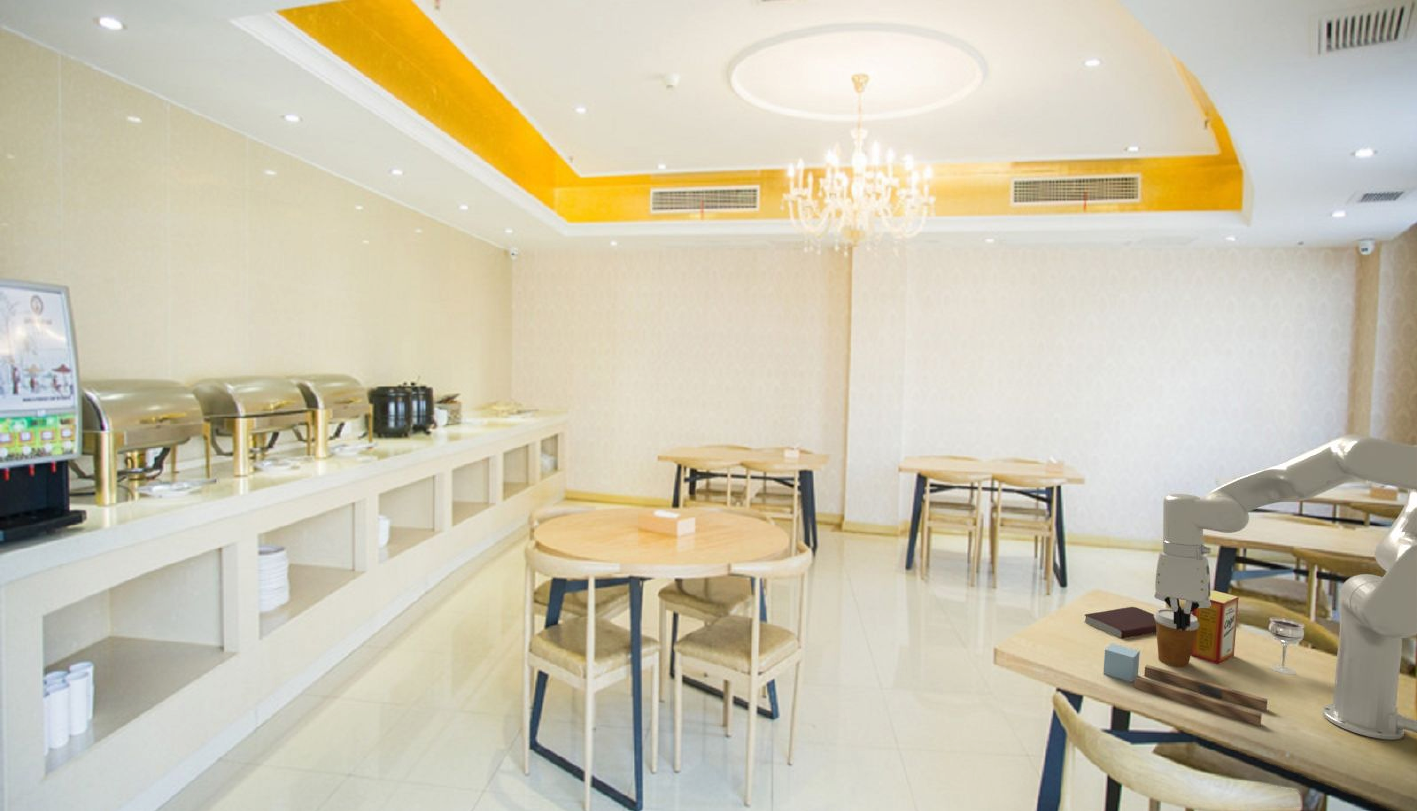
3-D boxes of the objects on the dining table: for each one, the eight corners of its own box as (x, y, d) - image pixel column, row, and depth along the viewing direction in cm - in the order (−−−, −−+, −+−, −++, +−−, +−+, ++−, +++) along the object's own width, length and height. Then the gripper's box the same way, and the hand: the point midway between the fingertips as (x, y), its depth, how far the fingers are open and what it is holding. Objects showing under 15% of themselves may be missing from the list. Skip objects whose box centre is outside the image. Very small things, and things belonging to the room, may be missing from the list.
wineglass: (1302, 678, 169) (1307, 630, 168) (1267, 671, 172) (1271, 623, 171) (1298, 668, 174) (1302, 621, 174) (1263, 661, 178) (1267, 615, 177)
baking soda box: (1204, 646, 186) (1209, 587, 185) (1233, 655, 181) (1238, 595, 180) (1189, 654, 181) (1193, 594, 180) (1218, 664, 176) (1223, 601, 175)
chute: (1266, 708, 154) (1267, 699, 154) (1259, 726, 146) (1260, 716, 146) (1146, 673, 170) (1146, 664, 170) (1134, 687, 162) (1134, 678, 162)
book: (1172, 632, 197) (1173, 621, 197) (1121, 640, 190) (1122, 629, 190) (1132, 616, 209) (1132, 605, 208) (1082, 623, 202) (1083, 612, 202)
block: (1138, 674, 169) (1139, 650, 168) (1131, 682, 165) (1133, 657, 165) (1110, 666, 173) (1111, 643, 173) (1103, 673, 169) (1105, 649, 169)
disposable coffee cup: (1203, 672, 171) (1207, 624, 170) (1160, 667, 173) (1163, 620, 172) (1185, 655, 181) (1189, 610, 180) (1144, 651, 182) (1147, 606, 181)
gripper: (1225, 551, 158) (1224, 631, 159) (1148, 540, 168) (1148, 616, 169) (1219, 558, 152) (1218, 641, 153) (1140, 547, 163) (1140, 625, 164)
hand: (1181, 628), depth 161 cm, fingers closed
